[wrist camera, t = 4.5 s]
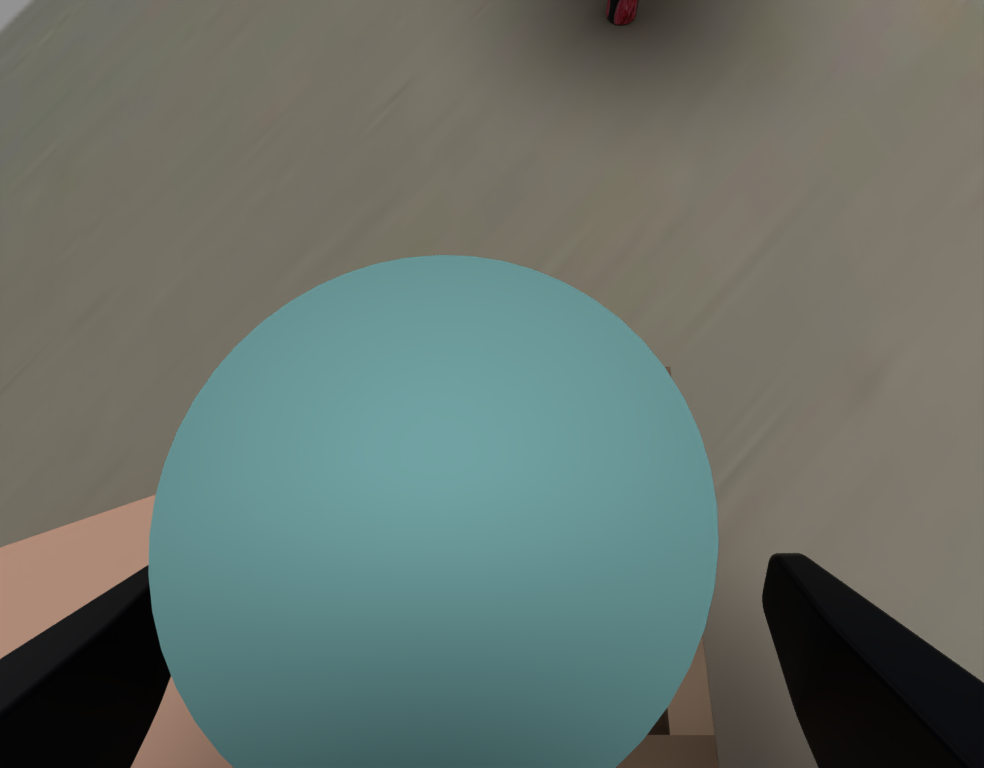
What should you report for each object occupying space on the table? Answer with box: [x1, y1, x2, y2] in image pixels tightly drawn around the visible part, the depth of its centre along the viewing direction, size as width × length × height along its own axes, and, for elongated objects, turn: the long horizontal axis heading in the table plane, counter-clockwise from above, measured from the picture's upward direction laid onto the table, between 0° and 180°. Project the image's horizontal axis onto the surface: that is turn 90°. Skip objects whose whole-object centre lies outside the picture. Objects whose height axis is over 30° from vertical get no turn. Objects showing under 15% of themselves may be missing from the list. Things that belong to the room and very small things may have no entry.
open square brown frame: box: [616, 367, 719, 768], centre depth 16 cm, size 10×10×2 cm
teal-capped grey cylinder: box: [148, 255, 719, 768], centre depth 11 cm, size 6×6×12 cm
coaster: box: [0, 495, 234, 768], centre depth 17 cm, size 8×8×1 cm
